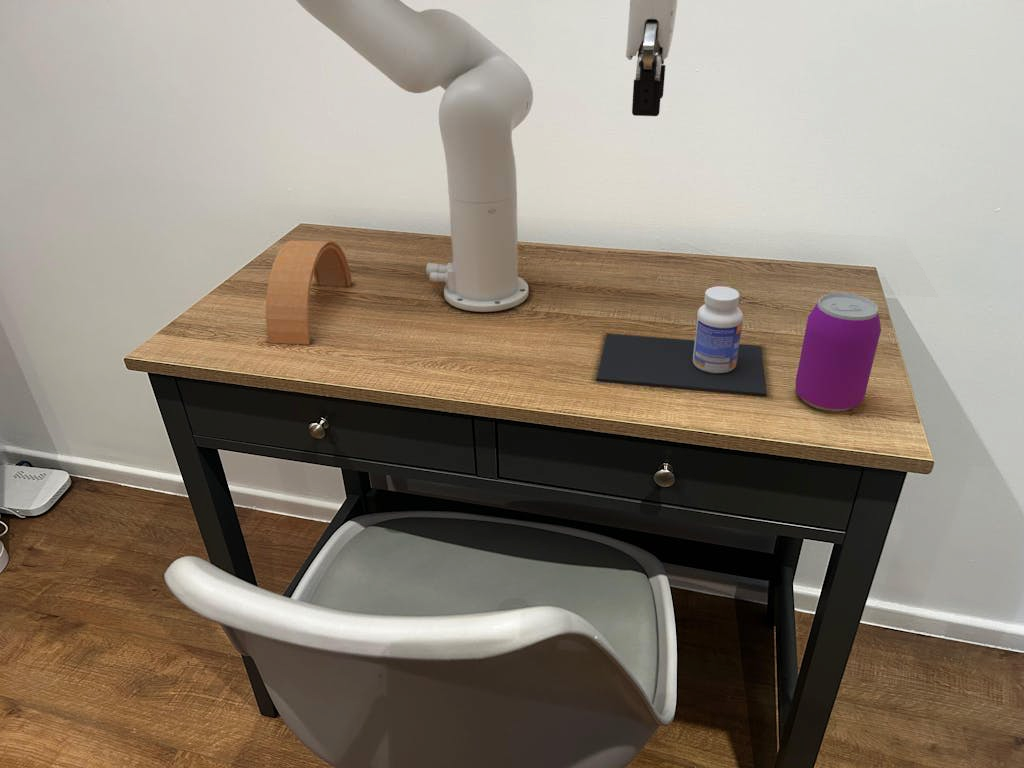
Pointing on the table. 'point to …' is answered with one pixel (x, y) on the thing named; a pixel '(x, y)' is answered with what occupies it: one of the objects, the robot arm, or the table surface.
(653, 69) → the robot arm
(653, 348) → the desk mat
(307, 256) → the arch
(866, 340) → the beverage can
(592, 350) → the table surface
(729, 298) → the pill bottle
